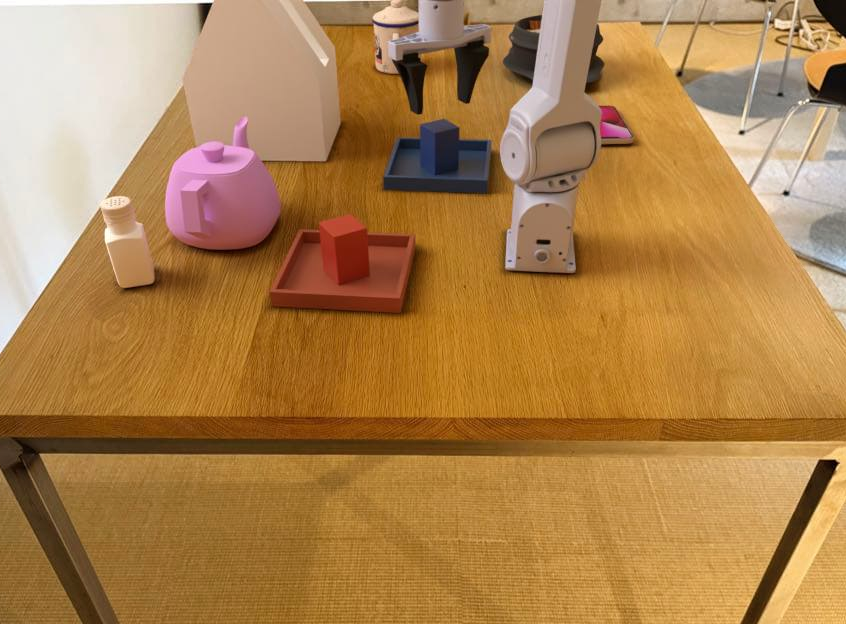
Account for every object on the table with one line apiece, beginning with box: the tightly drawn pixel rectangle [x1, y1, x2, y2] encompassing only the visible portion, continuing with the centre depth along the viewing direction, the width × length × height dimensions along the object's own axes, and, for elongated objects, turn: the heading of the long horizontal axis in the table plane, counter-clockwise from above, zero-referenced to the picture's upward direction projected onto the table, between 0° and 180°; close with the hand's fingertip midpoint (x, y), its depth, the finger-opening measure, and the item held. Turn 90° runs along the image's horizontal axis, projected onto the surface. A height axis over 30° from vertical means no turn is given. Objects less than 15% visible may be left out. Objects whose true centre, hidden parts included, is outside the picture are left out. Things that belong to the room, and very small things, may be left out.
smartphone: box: [598, 105, 635, 145], centre depth 120 cm, size 7×1×15 cm
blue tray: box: [382, 136, 493, 194], centre depth 108 cm, size 14×14×2 cm
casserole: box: [502, 14, 605, 84], centre depth 138 cm, size 25×19×8 cm
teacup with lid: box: [371, 0, 422, 75], centre depth 140 cm, size 12×9×12 cm
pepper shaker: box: [99, 195, 156, 289], centre depth 84 cm, size 4×4×10 cm
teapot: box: [164, 117, 282, 251], centre depth 93 cm, size 13×20×11 cm
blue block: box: [419, 118, 461, 175], centre depth 107 cm, size 4×4×6 cm
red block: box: [318, 213, 370, 285], centre depth 85 cm, size 4×4×6 cm
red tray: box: [268, 228, 417, 314], centre depth 86 cm, size 14×14×2 cm
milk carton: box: [181, 0, 342, 162], centre depth 110 cm, size 19×15×25 cm
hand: (440, 106), depth 103 cm, fingers open, 7 cm apart
